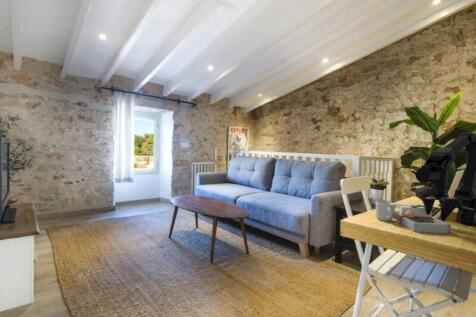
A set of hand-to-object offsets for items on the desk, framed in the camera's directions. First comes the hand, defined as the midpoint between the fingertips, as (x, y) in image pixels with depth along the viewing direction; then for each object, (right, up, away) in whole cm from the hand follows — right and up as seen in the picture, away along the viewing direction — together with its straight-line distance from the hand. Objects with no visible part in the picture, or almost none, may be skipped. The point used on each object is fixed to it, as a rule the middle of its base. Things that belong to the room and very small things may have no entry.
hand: (435, 217), depth 110 cm
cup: (-17, -3, +8) cm, 19 cm away
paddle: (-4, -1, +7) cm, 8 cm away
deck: (-4, -4, +9) cm, 10 cm away
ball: (-8, +1, +4) cm, 9 cm away
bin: (-6, -4, -2) cm, 8 cm away
